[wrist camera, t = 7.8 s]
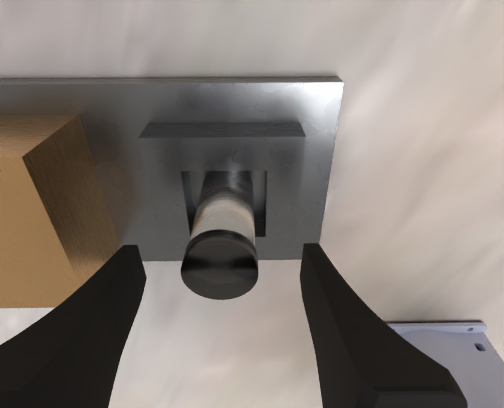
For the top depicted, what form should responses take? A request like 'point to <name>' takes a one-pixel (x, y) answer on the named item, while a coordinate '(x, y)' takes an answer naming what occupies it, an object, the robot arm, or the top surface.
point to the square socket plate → (151, 169)
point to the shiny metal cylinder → (222, 238)
